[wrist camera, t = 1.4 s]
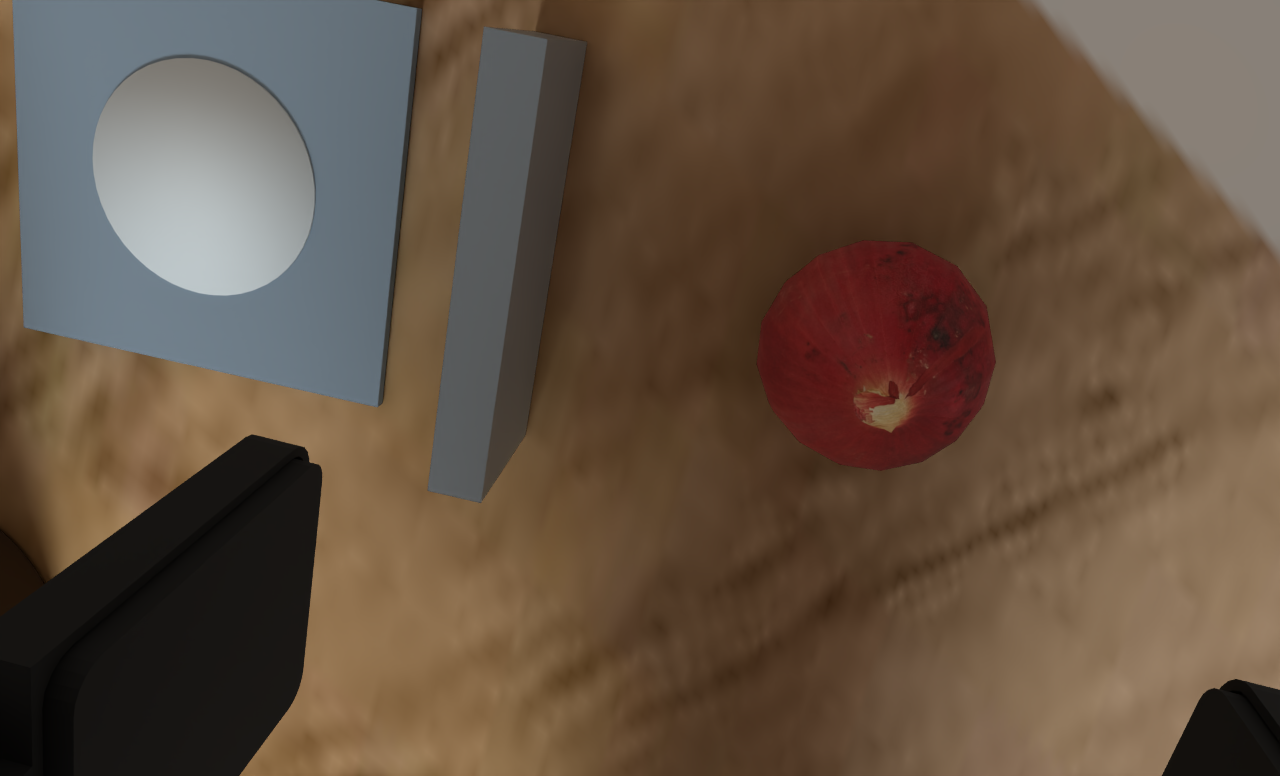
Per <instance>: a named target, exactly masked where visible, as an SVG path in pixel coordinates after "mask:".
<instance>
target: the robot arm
mask: <svg viewBox="0 0 1280 776" xmlns="http://www.w3.org/2000/svg"><path fill="white" fill-rule="evenodd" d="M321 487H322V470H321V467H320V466H319V465H318V464H314V463H310V462H309V456H308V452H307V450H306V449H305V447H301V446H297V445H293V444H289V443H285V442H281V441H277V440H273V439H269V438H265V437H261V436H257V435H250V436H248V437H245V438H244V439H243V440H241V441H240V442H239V443H237V444H236V445H234V446H233V447H232V448H230V449H229V450H228V451H226V452H225V453H224V454H222V455H221V456H219V457H218V458H217V459H215V460H214V461H213V462H211V463H210V464H208V465H207V466H206V467H204V468H203V469H202V470H200V471H199V472H197V473H196V474H195V475H193V476H192V477H191V478H189V479H188V480H187V481H185V482H184V483H182V484H181V485H180V486H178V487H177V488H176V489H174V490H173V491H171V492H170V493H169V494H167V495H166V496H165V497H163V498H162V499H161V500H159V501H158V502H156V503H155V504H154V505H152V506H151V507H150V508H148V509H147V510H145V511H144V512H143V513H141V514H140V515H139V516H137V517H136V518H135V519H133V520H132V521H130V522H129V523H128V524H126V525H125V526H124V527H122V528H121V529H119V530H118V531H117V532H115V533H114V534H113V535H111V536H110V537H109V538H107V539H106V540H104V541H103V542H102V543H100V544H99V545H98V546H96V547H95V548H93V549H92V550H91V551H89V552H88V553H87V554H85V555H84V556H82V557H81V558H80V559H78V560H77V561H76V562H74V563H73V564H72V565H70V566H69V567H67V568H66V569H65V570H63V571H62V572H61V573H59V574H58V575H56V576H55V577H54V578H52V579H51V580H50V581H48V582H47V583H46V584H44V585H43V586H41V587H40V588H39V589H37V590H36V591H35V592H33V593H32V594H30V595H29V596H28V597H26V598H25V599H24V600H22V601H21V602H20V603H18V604H17V605H15V606H14V607H13V608H11V609H10V610H9V611H7V612H6V613H4V614H3V615H2V616H0V776H239V775H240V774H241V772H242V771H243V770H244V768H245V767H246V766H247V764H248V763H249V762H250V760H251V759H252V758H253V756H254V755H255V754H256V752H257V751H258V750H259V748H260V747H261V745H262V744H263V743H264V741H265V740H266V739H267V737H268V736H269V735H270V733H271V732H272V731H273V729H274V728H275V727H276V725H277V724H278V722H279V721H280V720H281V718H282V717H283V716H284V714H285V713H286V712H287V710H288V709H289V707H290V706H291V704H292V703H293V701H294V698H295V696H296V694H297V692H298V689H299V686H300V683H301V679H302V674H303V667H304V657H305V647H306V637H307V627H308V617H309V607H310V597H311V587H312V577H313V567H314V557H315V547H316V537H317V527H318V517H319V507H320V497H321ZM1162 776H1280V690H1278V689H1274V688H1270V687H1266V686H1262V685H1258V684H1254V683H1250V682H1246V681H1242V680H1238V679H1235V680H1231V681H1228V682H1227V683H1225V684H1224V685H1223V686H1222V687H1221V688H1220V689H1215V688H1213V689H1209V690H1208V691H1206V692H1205V693H1204V694H1203V695H1202V697H1201V698H1200V700H1199V702H1198V704H1197V706H1196V708H1195V710H1194V712H1193V714H1192V716H1191V718H1190V720H1189V722H1188V724H1187V726H1186V728H1185V730H1184V732H1183V734H1182V736H1181V738H1180V740H1179V742H1178V744H1177V746H1176V748H1175V750H1174V752H1173V754H1172V756H1171V758H1170V760H1169V762H1168V764H1167V766H1166V768H1165V770H1164V772H1163V774H1162Z"/></svg>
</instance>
